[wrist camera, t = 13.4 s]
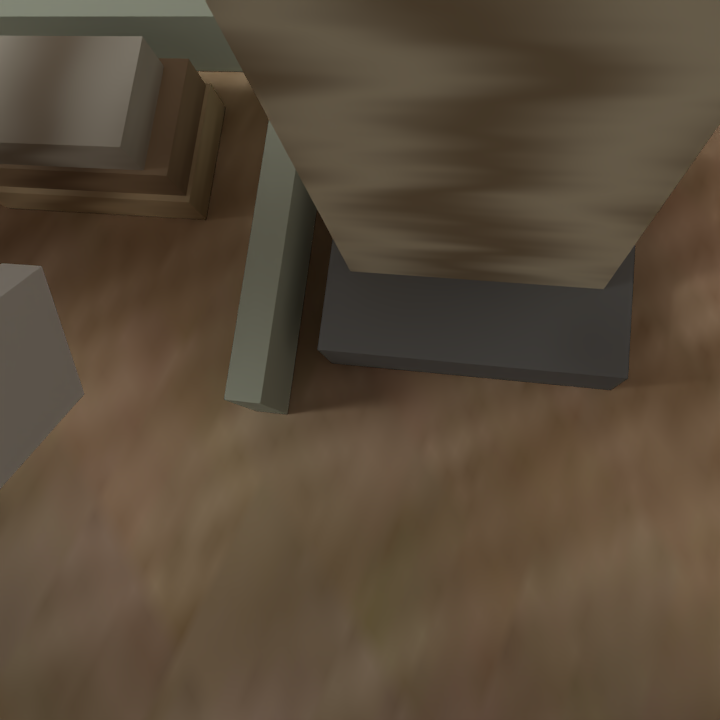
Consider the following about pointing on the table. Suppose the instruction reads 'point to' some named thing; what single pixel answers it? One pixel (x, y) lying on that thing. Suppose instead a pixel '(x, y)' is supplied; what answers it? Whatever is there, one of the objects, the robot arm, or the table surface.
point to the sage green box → (274, 196)
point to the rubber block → (479, 326)
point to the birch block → (484, 125)
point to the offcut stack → (105, 128)
